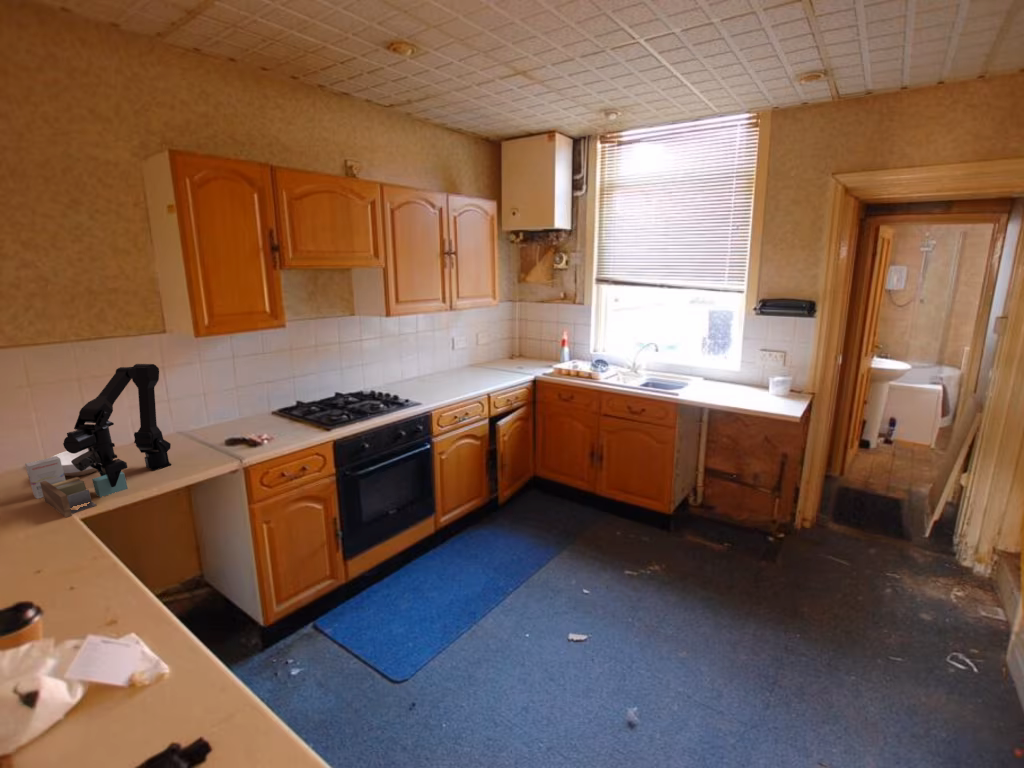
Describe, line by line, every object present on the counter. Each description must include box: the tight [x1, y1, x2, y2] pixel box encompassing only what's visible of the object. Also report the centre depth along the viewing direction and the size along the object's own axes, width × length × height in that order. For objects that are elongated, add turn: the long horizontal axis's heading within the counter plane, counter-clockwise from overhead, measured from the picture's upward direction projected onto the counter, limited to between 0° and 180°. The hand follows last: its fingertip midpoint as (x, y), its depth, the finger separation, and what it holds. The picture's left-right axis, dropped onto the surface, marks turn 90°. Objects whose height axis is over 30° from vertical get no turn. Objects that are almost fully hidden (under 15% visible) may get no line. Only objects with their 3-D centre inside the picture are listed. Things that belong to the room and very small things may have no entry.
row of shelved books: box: [51, 476, 87, 496], centre depth 178 cm, size 8×6×6 cm
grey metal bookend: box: [67, 488, 97, 515], centre depth 172 cm, size 7×5×4 cm, turn 145°
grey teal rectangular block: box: [91, 471, 128, 498], centre depth 183 cm, size 8×4×6 cm, turn 146°
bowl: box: [51, 448, 98, 477], centre depth 201 cm, size 20×20×6 cm
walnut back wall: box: [40, 481, 73, 518], centre depth 171 cm, size 2×19×7 cm, turn 55°
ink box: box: [24, 455, 66, 500], centre depth 182 cm, size 8×5×12 cm, turn 141°
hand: (110, 484), depth 183 cm, fingers open, 5 cm apart
